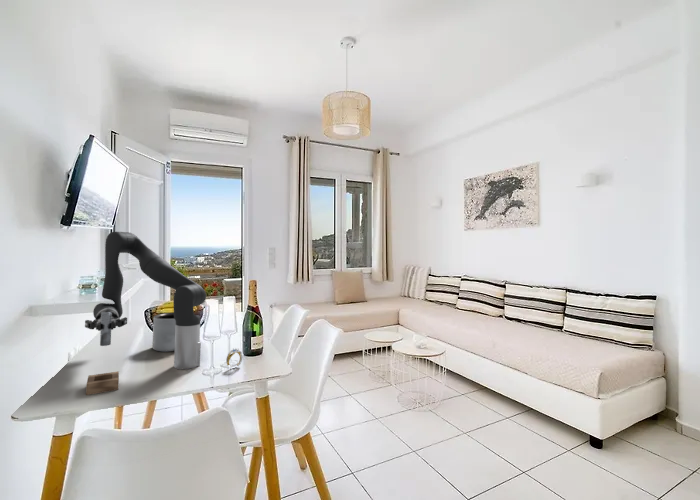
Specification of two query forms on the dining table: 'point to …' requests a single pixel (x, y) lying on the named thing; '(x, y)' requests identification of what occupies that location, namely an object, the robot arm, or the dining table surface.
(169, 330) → the planter
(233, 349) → the ring
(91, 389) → the wooden square socket block
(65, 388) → the dining table surface
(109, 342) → the rod
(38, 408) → the dining table surface
